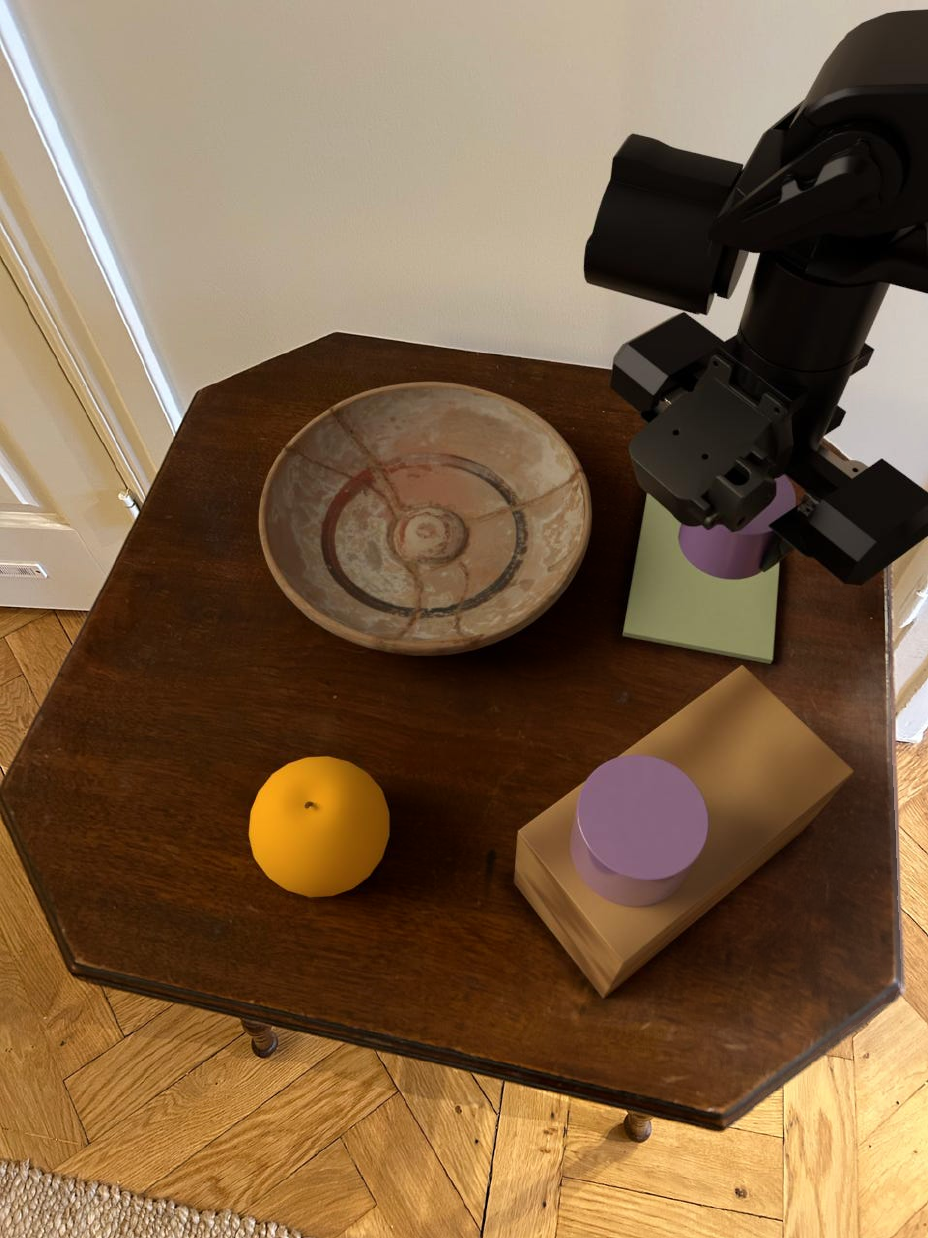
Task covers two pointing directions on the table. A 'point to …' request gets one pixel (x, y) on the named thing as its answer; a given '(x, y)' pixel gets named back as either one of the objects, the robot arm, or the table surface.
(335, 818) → the orange
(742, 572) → the purple round puck
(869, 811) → the table surface
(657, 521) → the placemat
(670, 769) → the lavender cylinder puck
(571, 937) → the block
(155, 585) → the table surface
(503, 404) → the ceramic bowl
